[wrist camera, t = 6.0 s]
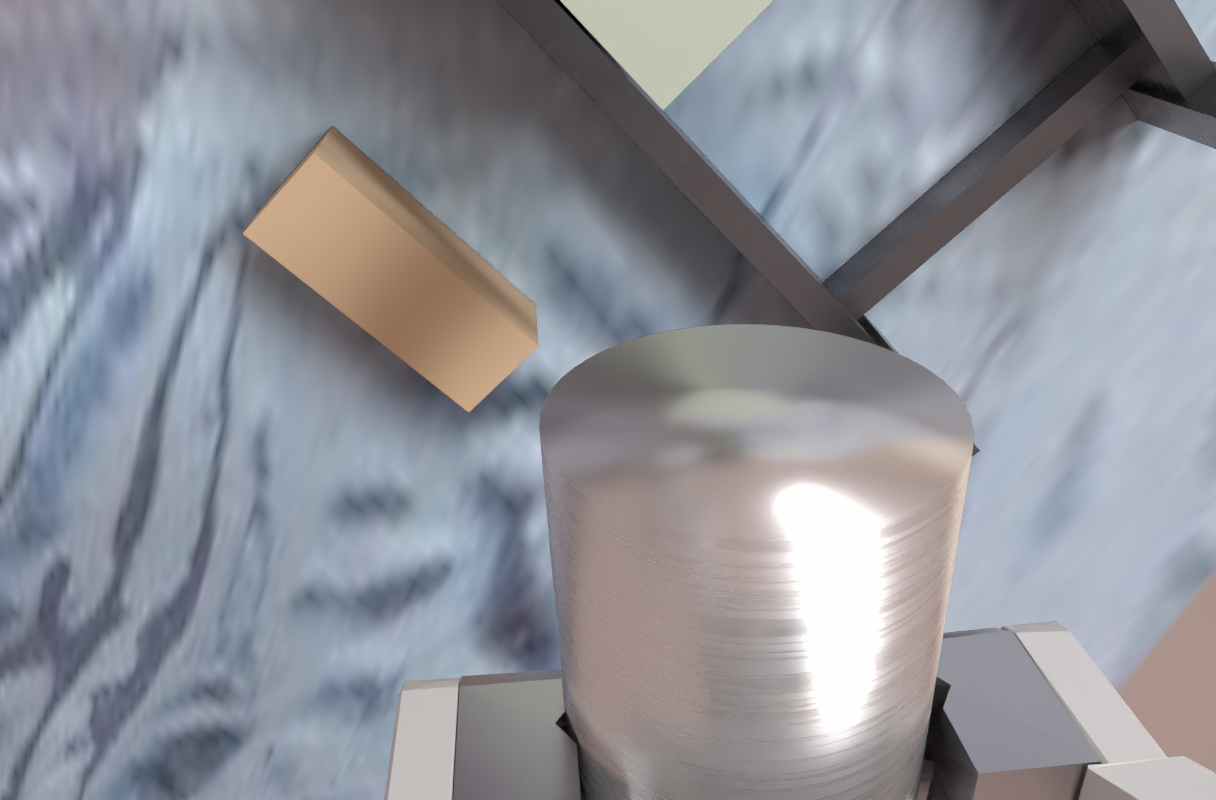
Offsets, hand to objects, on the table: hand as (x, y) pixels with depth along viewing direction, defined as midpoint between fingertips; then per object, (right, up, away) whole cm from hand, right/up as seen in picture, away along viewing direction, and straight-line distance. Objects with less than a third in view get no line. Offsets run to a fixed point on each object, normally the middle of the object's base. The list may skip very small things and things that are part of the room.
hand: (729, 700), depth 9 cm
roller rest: (-6, +6, +15) cm, 17 cm away
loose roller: (0, 0, 0) cm, 1 cm away
